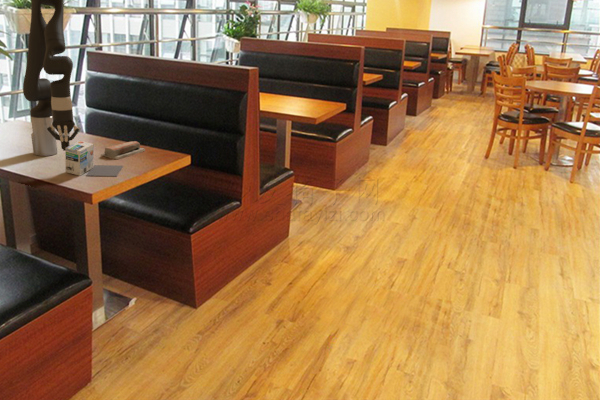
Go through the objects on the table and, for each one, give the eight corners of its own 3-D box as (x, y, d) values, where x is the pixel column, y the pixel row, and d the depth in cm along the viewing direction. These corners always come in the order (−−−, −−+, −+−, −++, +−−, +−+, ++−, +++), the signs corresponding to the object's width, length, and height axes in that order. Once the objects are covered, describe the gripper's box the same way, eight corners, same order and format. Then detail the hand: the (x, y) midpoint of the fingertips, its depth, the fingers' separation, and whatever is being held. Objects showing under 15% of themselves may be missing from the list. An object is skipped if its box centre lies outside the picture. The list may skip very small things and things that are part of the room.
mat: (86, 176, 227) (86, 175, 227) (94, 165, 240) (94, 165, 240) (116, 176, 228) (116, 175, 228) (123, 166, 241) (123, 165, 241)
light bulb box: (80, 176, 227) (80, 151, 222) (64, 172, 227) (64, 147, 223) (94, 167, 236) (94, 143, 232) (79, 164, 237) (79, 140, 233)
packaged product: (116, 150, 248) (100, 146, 252) (117, 160, 250) (101, 156, 254) (145, 141, 263) (129, 138, 267) (145, 151, 265) (130, 148, 269)
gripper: (41, 108, 217) (45, 152, 223) (76, 110, 218) (80, 153, 224) (47, 105, 224) (52, 147, 230) (81, 106, 225) (85, 148, 231)
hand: (65, 150), depth 227 cm, fingers closed
